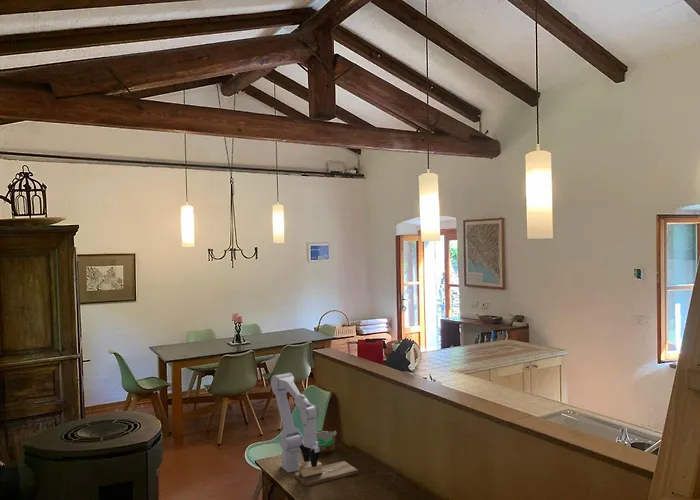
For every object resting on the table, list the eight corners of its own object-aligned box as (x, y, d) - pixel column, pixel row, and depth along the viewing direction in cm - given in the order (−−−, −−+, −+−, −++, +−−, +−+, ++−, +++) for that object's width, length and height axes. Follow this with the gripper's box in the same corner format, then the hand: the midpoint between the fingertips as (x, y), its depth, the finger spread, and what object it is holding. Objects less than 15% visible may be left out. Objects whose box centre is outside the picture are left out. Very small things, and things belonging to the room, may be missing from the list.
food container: (310, 452, 275) (310, 433, 275) (313, 448, 281) (313, 429, 281) (334, 453, 273) (334, 433, 273) (336, 449, 279) (336, 430, 279)
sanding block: (298, 475, 243) (298, 464, 243) (316, 471, 247) (316, 460, 248) (303, 479, 239) (303, 467, 239) (322, 474, 243) (321, 463, 243)
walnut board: (294, 476, 246) (294, 472, 246) (343, 464, 259) (343, 460, 259) (306, 486, 235) (306, 482, 235) (358, 473, 248) (358, 469, 248)
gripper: (325, 436, 239) (325, 467, 239) (310, 427, 252) (311, 457, 251) (310, 439, 235) (311, 470, 235) (296, 430, 248) (297, 460, 248)
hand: (310, 463), depth 243 cm, fingers open, 7 cm apart
